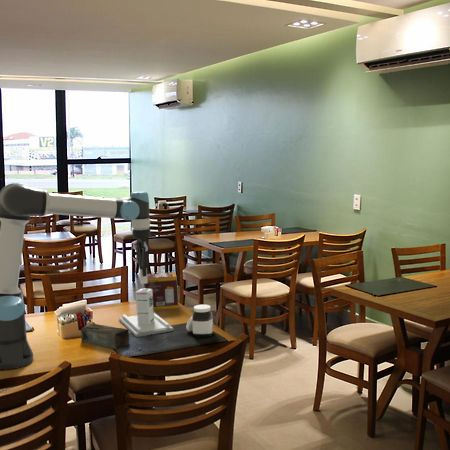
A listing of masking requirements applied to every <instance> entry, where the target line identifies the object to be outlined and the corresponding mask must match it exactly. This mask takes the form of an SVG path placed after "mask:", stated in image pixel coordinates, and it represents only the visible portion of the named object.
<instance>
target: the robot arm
mask: <svg viewBox="0 0 450 450" xmlns="http://www.w3.org/2000/svg"><path fill="white" fill-rule="evenodd" d="M46 215H62V216H76V217H77V216H78V217H88V218H89V217H90V218H91V217H93V218H102V219H104V218H106V219H116V220H117V219H118V220H125V221H131V228H132V230H131V231H132V238H133V239H136V242H135V243H134V245H135V252H136V262H137V267H138V269H139V282H140V284H141V285H144V284H145V283H148V282H147V274H148V269H149V267H150V265H149V263H150V262H149V261H150V259H149V258H150V246H149V244H148V241H147V239H149V238H151V236H152V235H151V229H150V228H151V222H152V220H151V219H150V197H149V193H148V192H147V191H132V192H130V195H129V196H128V197H117V198H116V197H115V198H114V197H113V198H107V197H105V198H104V197H94V196H85V195H83V196H82V195H74V194H61V193H49V192H48V191H47V190H46V189H40V188H35V187H31V186H27V185H24V184H22V183H18V182H16V183H15V182H13V183H12V182H11V183H9V184H7V185H5V186H3V187H2V188H1V190H0V369H10V370H13V369H12V368H16V369H18V368H17V367H20V368H22V366H23V367H25V365H26V366H27V365H29V364H31V363H32V362H33V361H34V353H33V350H32V349H31V346H30V343H29V342H28V338H27V325H26V314H25V313H26V312H25V311H26V310H25V309H26V307H25V302H24V300H23V299H22V290H21V288H20V287H19V281H20V279H19V278H20V272H21V270H20V269H21V264H22V263H21V262H22V253H23V246H24V236H25V230H26V225H27V224H29V222H30V221H31V217H36V216H37V217H45V216H46Z"/></svg>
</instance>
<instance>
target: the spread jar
mask: <svg viewBox="0 0 450 450" xmlns="http://www.w3.org/2000/svg"><path fill="white" fill-rule="evenodd" d="M211 310H212V309H211V305H209V304H197V305H194V306H193V312H192V316H190V318H189V319H188V320H187V322H186V325H185V327H186V328H185V329H186V330H187V331H188V332H192V334H193V335H194V336H195V337H197V338H207V337H211V336H212V335H213V332H214V319H213V312H212V311H211Z"/></svg>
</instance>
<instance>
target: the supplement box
mask: <svg viewBox="0 0 450 450" xmlns="http://www.w3.org/2000/svg"><path fill="white" fill-rule="evenodd" d="M177 278H178V276H177V275H176V273H175V272H174V271H172V272H159V273H147V282H148V283H145V284H143V286H144V287H143V289H144V288H149V289H152V292H153V307H154V311H158V310H172V309H179V297H178V293H179V292H178V279H177Z"/></svg>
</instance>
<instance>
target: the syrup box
mask: <svg viewBox="0 0 450 450" xmlns="http://www.w3.org/2000/svg"><path fill="white" fill-rule="evenodd" d="M135 300H136V301H135V302H136V303H135V304H136V315H137V320H138V324H141V325H150V324H151V323H152V322H153V321H154V313H155V310H154V307H153V292H152V289H149V288H144V287H143V288H140V289H139V290H137V291H135Z"/></svg>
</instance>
